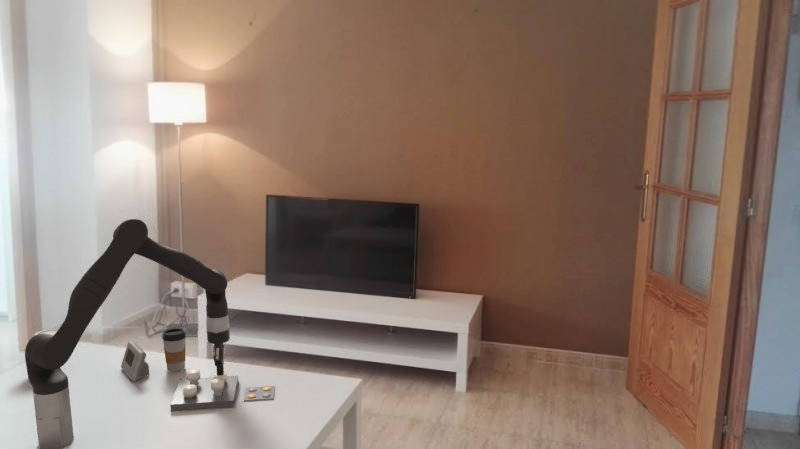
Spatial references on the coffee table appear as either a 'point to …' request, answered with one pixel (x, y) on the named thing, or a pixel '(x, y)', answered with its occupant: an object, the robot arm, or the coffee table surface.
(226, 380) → the button
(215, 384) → the button
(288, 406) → the coffee table surface
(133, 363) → the digital clock
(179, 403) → the board
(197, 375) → the button
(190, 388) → the button
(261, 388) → the card
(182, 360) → the coffee cup
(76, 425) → the coffee table surface
